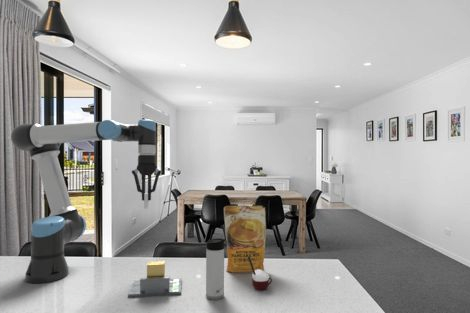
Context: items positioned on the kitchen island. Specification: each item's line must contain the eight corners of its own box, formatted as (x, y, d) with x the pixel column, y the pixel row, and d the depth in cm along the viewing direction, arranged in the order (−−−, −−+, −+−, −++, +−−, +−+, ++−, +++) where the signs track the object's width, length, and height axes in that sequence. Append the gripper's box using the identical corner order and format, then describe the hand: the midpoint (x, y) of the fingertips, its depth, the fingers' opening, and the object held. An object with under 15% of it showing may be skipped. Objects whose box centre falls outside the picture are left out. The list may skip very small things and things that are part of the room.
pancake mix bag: (222, 268, 141) (223, 204, 141) (265, 267, 143) (265, 204, 143) (223, 273, 134) (223, 206, 135) (268, 272, 136) (268, 206, 136)
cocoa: (271, 286, 121) (272, 254, 122) (272, 292, 115) (273, 259, 116) (246, 284, 122) (248, 252, 123) (245, 290, 116) (247, 257, 117)
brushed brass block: (146, 290, 113) (146, 265, 113) (148, 286, 117) (148, 261, 117) (176, 289, 114) (177, 263, 115) (177, 284, 118) (177, 260, 119)
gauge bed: (128, 297, 110) (128, 279, 110) (134, 283, 123) (134, 267, 123) (180, 294, 113) (181, 277, 113) (181, 280, 125) (181, 265, 126)
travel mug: (222, 300, 108) (222, 241, 108) (203, 299, 109) (204, 240, 109) (226, 293, 114) (227, 237, 114) (208, 291, 115) (209, 236, 115)
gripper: (162, 155, 146) (162, 206, 146) (133, 154, 145) (132, 206, 144) (161, 154, 139) (160, 208, 139) (130, 154, 137) (129, 209, 137)
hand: (146, 207), depth 141 cm, fingers closed
